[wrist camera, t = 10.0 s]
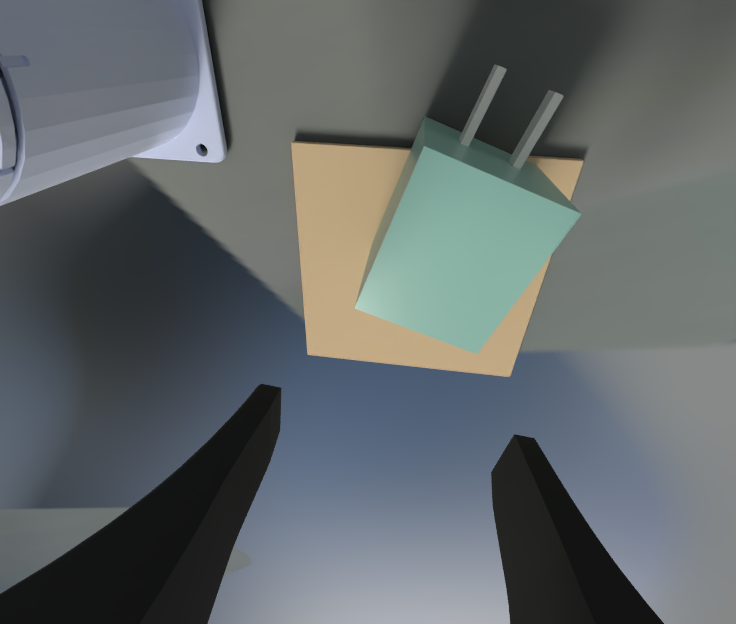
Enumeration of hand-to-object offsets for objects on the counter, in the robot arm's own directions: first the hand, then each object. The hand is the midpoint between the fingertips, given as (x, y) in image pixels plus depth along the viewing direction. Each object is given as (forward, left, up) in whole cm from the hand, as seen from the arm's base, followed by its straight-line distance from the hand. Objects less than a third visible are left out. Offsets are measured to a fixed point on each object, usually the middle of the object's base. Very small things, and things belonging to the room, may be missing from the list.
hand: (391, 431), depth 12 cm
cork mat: (+1, 0, -10) cm, 10 cm away
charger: (+2, +5, -9) cm, 11 cm away
